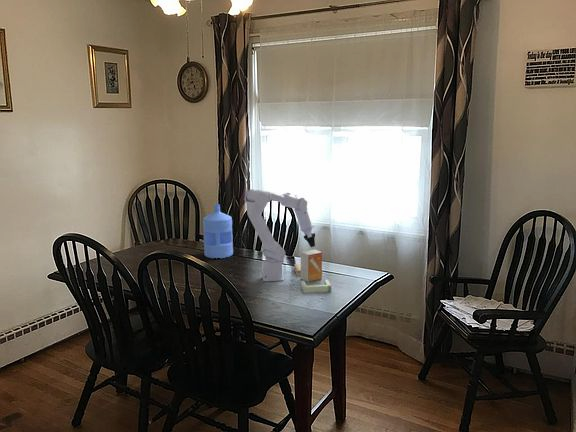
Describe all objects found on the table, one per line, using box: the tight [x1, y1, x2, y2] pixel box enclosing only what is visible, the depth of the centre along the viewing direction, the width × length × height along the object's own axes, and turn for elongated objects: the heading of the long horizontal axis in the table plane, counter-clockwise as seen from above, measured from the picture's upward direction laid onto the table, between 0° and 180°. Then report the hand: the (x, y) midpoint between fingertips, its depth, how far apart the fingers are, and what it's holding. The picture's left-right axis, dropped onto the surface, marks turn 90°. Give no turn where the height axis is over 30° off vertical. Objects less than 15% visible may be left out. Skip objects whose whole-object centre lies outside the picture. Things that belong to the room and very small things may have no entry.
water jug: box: [202, 203, 234, 260], centre depth 265 cm, size 16×16×28 cm
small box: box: [300, 248, 323, 282], centre depth 227 cm, size 8×6×13 cm
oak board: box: [294, 263, 301, 277], centre depth 238 cm, size 12×10×3 cm
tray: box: [300, 279, 332, 294], centre depth 215 cm, size 12×8×2 cm, turn 96°
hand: (311, 242), depth 242 cm, fingers open, 7 cm apart
